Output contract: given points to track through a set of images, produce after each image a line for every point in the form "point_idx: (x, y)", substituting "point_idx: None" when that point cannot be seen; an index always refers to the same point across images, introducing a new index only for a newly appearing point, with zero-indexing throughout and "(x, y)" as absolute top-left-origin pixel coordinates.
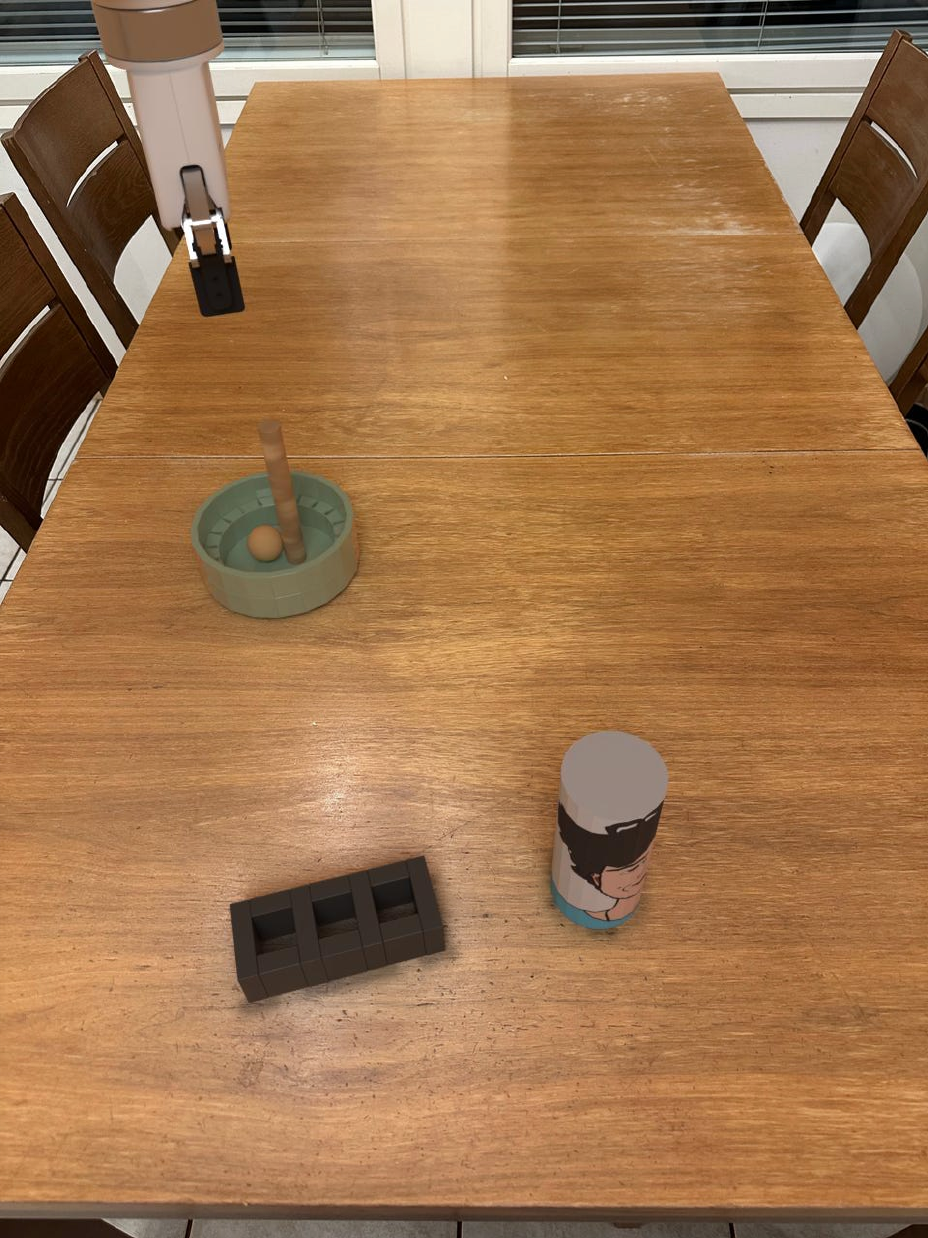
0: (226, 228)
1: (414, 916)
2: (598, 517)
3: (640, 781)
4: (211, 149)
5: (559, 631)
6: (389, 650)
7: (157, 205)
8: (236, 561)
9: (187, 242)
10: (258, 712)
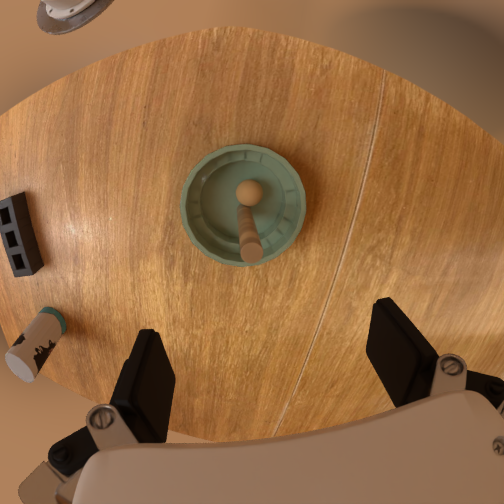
0: (380, 377)
1: (15, 268)
2: (251, 369)
3: (19, 373)
4: None
5: (169, 341)
6: (158, 261)
7: (104, 501)
8: (247, 167)
9: (98, 446)
10: (118, 187)
